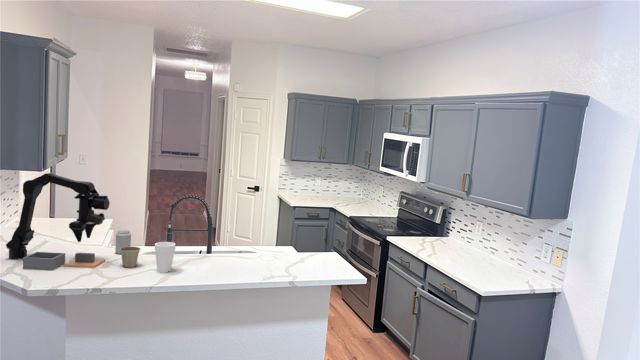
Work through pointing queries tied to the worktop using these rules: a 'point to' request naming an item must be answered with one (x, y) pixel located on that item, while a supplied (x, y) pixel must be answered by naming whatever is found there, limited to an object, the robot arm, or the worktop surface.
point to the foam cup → (164, 255)
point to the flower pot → (129, 256)
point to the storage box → (43, 261)
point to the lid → (84, 261)
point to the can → (122, 240)
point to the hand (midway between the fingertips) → (84, 239)
